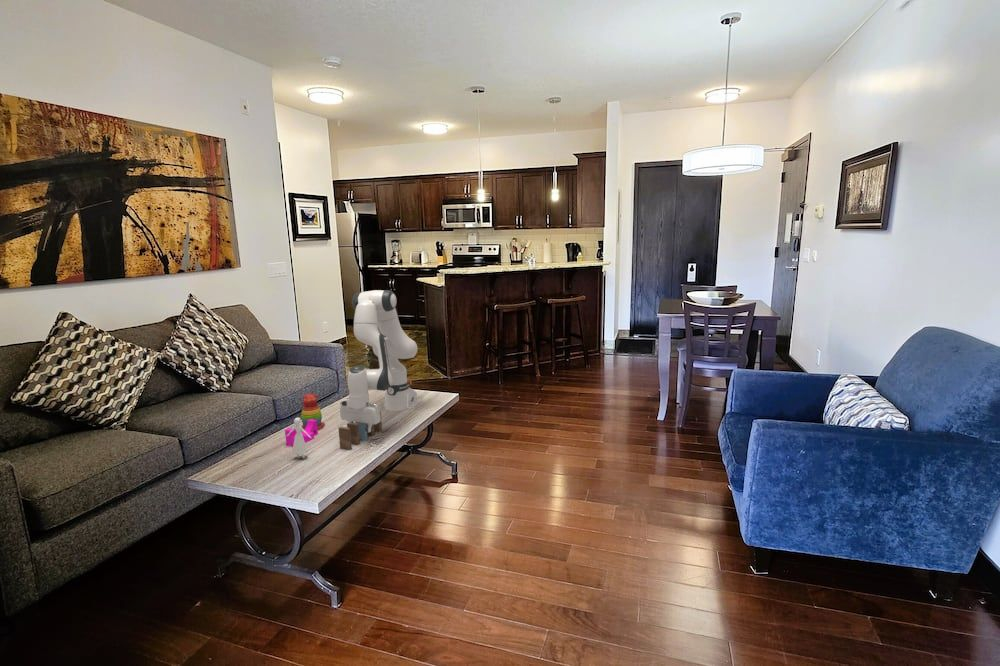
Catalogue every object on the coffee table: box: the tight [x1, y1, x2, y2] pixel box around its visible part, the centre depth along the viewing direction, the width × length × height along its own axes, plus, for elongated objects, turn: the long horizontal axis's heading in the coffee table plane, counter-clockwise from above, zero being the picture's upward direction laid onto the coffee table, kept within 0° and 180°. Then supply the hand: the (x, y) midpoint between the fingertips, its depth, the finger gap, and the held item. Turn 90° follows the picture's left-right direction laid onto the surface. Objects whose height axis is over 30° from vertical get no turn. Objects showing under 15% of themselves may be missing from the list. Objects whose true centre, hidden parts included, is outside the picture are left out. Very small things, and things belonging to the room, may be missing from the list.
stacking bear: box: [300, 393, 326, 431], centre depth 232 cm, size 11×10×18 cm
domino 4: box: [366, 423, 376, 437], centre depth 223 cm, size 2×5×10 cm, turn 68°
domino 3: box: [354, 421, 368, 441], centre depth 218 cm, size 2×5×10 cm, turn 68°
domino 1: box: [338, 426, 353, 451], centre depth 208 cm, size 2×5×10 cm, turn 68°
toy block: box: [284, 419, 319, 447], centre depth 219 cm, size 15×6×8 cm, turn 155°
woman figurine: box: [285, 417, 311, 459], centre depth 199 cm, size 12×4×18 cm, turn 79°
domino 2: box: [346, 421, 361, 446], centre depth 213 cm, size 2×5×10 cm, turn 68°
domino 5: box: [374, 411, 383, 433], centre depth 228 cm, size 2×5×10 cm, turn 68°
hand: (361, 430), depth 218 cm, fingers open, 7 cm apart
